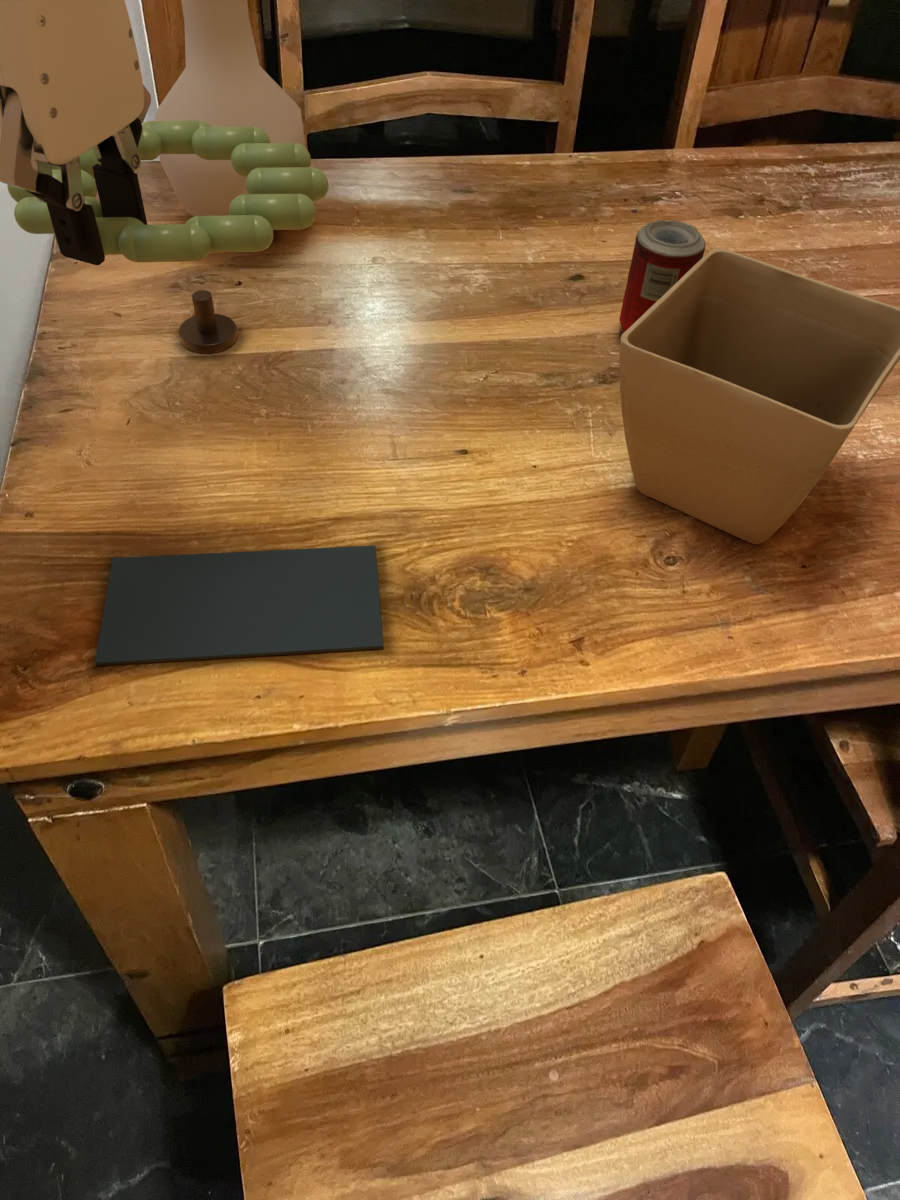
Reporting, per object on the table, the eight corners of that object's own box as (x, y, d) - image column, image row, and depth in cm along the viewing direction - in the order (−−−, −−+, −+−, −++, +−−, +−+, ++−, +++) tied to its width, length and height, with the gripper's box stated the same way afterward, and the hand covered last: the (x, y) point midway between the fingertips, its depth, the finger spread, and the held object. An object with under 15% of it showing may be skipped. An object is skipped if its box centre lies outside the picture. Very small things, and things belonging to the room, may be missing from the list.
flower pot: (583, 494, 86) (615, 337, 74) (674, 395, 97) (715, 242, 84) (777, 587, 80) (849, 432, 67) (851, 470, 90) (926, 316, 77)
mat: (95, 665, 71) (94, 662, 71) (113, 561, 78) (112, 557, 78) (383, 649, 74) (383, 645, 73) (375, 548, 81) (375, 545, 80)
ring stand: (178, 354, 98) (169, 311, 94) (182, 321, 102) (174, 280, 98) (236, 352, 98) (229, 310, 95) (238, 320, 102) (232, 279, 98)
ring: (-11, 272, 63) (-23, 238, 61) (33, 147, 75) (24, 116, 73) (336, 264, 66) (335, 232, 64) (322, 145, 78) (321, 115, 76)
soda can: (682, 357, 101) (711, 251, 92) (617, 352, 101) (639, 246, 92) (677, 321, 106) (704, 217, 97) (615, 316, 106) (636, 212, 97)
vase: (332, 253, 112) (317, -15, 91) (198, 280, 107) (149, 3, 86) (285, 191, 122) (261, -64, 101) (160, 213, 117) (107, -50, 95)
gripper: (67, -118, 57) (129, 181, 70) (-144, -48, 46) (-23, 288, 60) (174, -99, 55) (217, 203, 69) (-19, -22, 45) (76, 316, 58)
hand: (105, 239), depth 64 cm, fingers closed on ring, 4 cm apart
